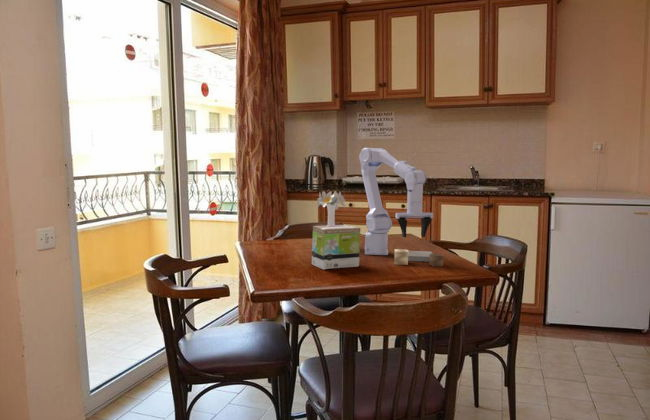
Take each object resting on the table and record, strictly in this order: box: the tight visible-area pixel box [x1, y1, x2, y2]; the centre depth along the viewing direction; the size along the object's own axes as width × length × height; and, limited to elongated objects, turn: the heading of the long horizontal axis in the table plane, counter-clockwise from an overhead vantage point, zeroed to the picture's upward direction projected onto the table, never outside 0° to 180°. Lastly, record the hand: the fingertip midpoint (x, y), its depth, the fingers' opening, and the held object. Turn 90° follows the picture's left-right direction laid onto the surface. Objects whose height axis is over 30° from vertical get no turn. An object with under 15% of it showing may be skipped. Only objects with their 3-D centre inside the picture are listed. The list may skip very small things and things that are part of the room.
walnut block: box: [428, 253, 444, 267], centre depth 189 cm, size 4×4×4 cm
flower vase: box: [315, 190, 346, 225], centre depth 225 cm, size 13×18×25 cm
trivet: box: [408, 250, 433, 263], centre depth 201 cm, size 11×11×2 cm
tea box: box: [311, 224, 361, 270], centre depth 185 cm, size 15×10×15 cm, turn 117°
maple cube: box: [393, 248, 409, 266], centre depth 192 cm, size 5×5×5 cm
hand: (413, 236), depth 195 cm, fingers open, 7 cm apart
